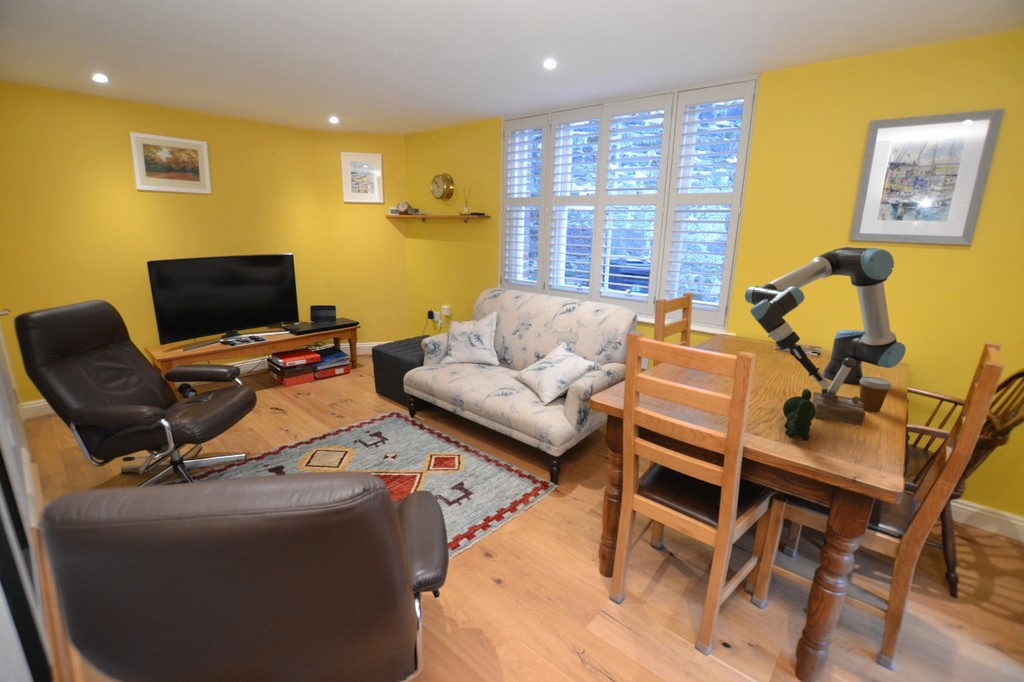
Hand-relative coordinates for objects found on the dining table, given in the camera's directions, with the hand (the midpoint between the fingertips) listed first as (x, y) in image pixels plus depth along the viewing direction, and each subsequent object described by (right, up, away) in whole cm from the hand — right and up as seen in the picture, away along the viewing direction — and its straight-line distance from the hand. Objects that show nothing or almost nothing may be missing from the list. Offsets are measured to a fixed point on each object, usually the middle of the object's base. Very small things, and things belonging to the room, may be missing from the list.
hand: (826, 386), depth 167 cm
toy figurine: (-21, -14, -16) cm, 30 cm away
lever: (+1, -4, 0) cm, 4 cm away
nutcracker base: (+4, -10, 0) cm, 11 cm away
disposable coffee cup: (+20, -10, +6) cm, 23 cm away
